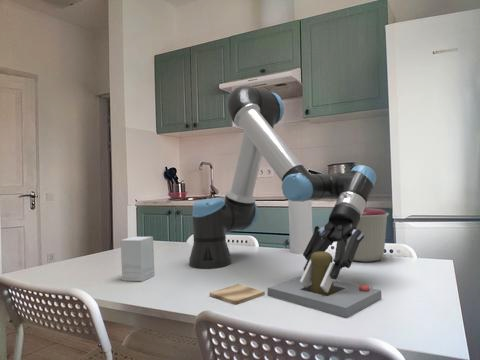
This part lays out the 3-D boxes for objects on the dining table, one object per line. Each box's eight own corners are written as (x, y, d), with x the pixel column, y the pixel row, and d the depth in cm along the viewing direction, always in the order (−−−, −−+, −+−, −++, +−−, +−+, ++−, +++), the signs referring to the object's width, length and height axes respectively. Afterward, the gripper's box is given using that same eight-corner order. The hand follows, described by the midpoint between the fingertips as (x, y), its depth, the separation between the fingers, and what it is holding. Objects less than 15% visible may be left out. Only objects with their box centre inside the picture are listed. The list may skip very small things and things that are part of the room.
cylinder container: (313, 253, 138) (310, 177, 138) (289, 253, 140) (286, 178, 140) (313, 249, 147) (310, 178, 148) (290, 249, 149) (288, 178, 150)
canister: (346, 252, 139) (344, 199, 139) (395, 256, 128) (393, 199, 128) (329, 261, 124) (327, 202, 124) (383, 267, 113) (381, 202, 114)
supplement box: (155, 275, 112) (154, 236, 112) (141, 282, 105) (140, 240, 105) (135, 274, 114) (134, 235, 114) (121, 280, 107) (119, 239, 107)
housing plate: (267, 295, 88) (267, 283, 88) (305, 281, 99) (305, 271, 99) (346, 317, 72) (345, 303, 72) (381, 298, 83) (381, 286, 83)
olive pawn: (307, 293, 89) (305, 250, 89) (330, 292, 89) (329, 249, 89) (314, 301, 82) (312, 255, 83) (339, 300, 83) (337, 253, 83)
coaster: (209, 295, 90) (209, 292, 90) (238, 287, 96) (238, 284, 96) (235, 304, 82) (235, 301, 82) (264, 294, 89) (264, 291, 89)
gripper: (312, 202, 100) (276, 271, 88) (374, 203, 86) (341, 285, 75) (324, 219, 103) (290, 288, 92) (384, 223, 90) (354, 303, 78)
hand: (313, 286), depth 83 cm, fingers closed on olive pawn, 5 cm apart
